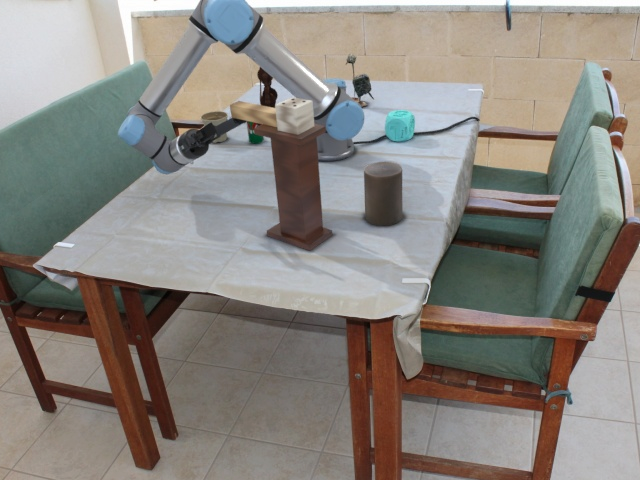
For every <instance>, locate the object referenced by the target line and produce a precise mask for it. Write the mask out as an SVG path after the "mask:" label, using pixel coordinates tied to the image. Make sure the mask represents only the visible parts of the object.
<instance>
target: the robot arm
mask: <svg viewBox="0 0 640 480" xmlns="http://www.w3.org/2000/svg"><path fill="white" fill-rule="evenodd" d="M187 23H188V27H187V28H186V29H185V31H184V33H183V34H182V35H181V37H179V40H178V41H177V43H176V44H175V46H174V47H173V49H172V51H171V52H170V53H169V54H168V56H167V57H166V59H165V61H164V62H163V64H162V65H161V66H160V67H159V70H158V71H157V72H156V74H155V75H154V77H153V78H152V80H151V81H150V82H149V84H148V86H147V87H146V88H145V90H144V91H143V93H142V94H141V96H140V98H139V99H138V101H137V102H136V103H135V105H133V106H131V107H130V108H129V110H128V111H127V114H126V118H125V119H124V121H122V123H121V125H120V127H119V129H118V131H117V136H118V137H119V139H121V140H122V141H123V142H125V144H126V145H128V146H131V147H132V148H134V149H135V150H136V151H138V152H140V153H142V154H143V155H145V157H148V158H149V159H150V160H152V161H151V162H152V165H153V167H154V168H155V170H156V171H157V172H158V173H160V174H163V175H171V174H174V173H176V172H178V171H180V170H181V169H182V168H183V167H185V166H187V165H189V164H190V165H194V163H195V162H194V161H196V160H197V159H199V158H201V157H203V156H205V155H206V154H207V152H208V151H209V148H210V144H212V143H213V141H214V140H216V139H218V138H220V137H221V135H223V134H225V133H227V134H228V132H230V131H232V130H234V129H236V128H238V127H240V126H241V125H243V124H247V121H246V120H241V119H237V118H232V117H231V118H228V119H227V121H225V122H223V123H221V124H219V125H217V126H216V125H213V124H212V122H211V123H209V124H207V125H206V126H204V125H203V127H201V128H200V129H198V128H189V129H188V130H186V131H185V132H183V133H182V134H180V135H178V136H177V137H175V138H173V139H170V138H169V137H168V136H166V135H165V134H163V133H162V132H161V131H159V130H158V129H157V128H156V125H157V124H158V122H159V121H160V119H161V118H162V116H163V114H164V113H165V112H166V110H167V109H168V107H169V106H170V105H171V103H172V102H173V100H174V99H175V97H176V96H177V94H178V93H179V92H180V90H181V89H182V87H183V86H184V84H185V83H186V82H187V80H188V79H189V77H190V76H191V74H192V73H193V71H195V69H196V67H197V66H198V64H199V63H200V61H201V60H202V58H203V57H204V55H205V54H206V52H207V51H208V50H209V49H210V47H211V46H212V44H217V43H218V42H220V43H222V44H224V45H225V46H226V47H227V48H228V49H230V50H231V51H232V52H233V53H234V54H235V55H239V54H240V55H241V54H245V56H247V57H248V59H250V60H252V61H253V62H254V63H255V64H256V65H257V66H259V68H260V67H261V68H262V69H263V70H265V71H266V72H267V73H268V74H269V75H270V76H272V77H273V79H274V80H275V81H276V82H277V83H278V84H279V85H281V87H283V88H284V89H286V91H288V92H289V93H290V94H291V95H292V96H294V98H300V99H305V100H311V101H313V113H314V124H318V125H322V126H326V132H325V133H324V134H322V135H320V136H318V137H317V149H318V162H319V161H320V162H334V161H341V160H344V159H347V158H349V157H351V156H352V155H353V154H354V153H355V145H364V144H366V145H367V144H373V143H377V142H378V141H381V140H383V139H385V138H388V137H387V136H386V134H384V135H381V136H379V137H377V138H374V139H371V140H360V141H353V138H354V137H356V136H357V135H358V134H359V133H360V132H361V130H362V129H363V127H364V124H365V112H364V110H363V108H362V107H361V106H360V105H359V104H358V103H357V102H355V101H354V100H353V99H352V98H351V96H350V95H349V94H348V93H347V85H346V80H344V79H343V78H325V79H323V78H322V77H321V76H319V74H318V73H316V72H315V71H314V70H313V69H312V68H311V67H309V66H308V64H306V63H305V62H304V61H303V60H302V59H301V58H300V57H299V56H297V55H296V54H295V53H294V52H293V51H292V50H291V49H289V47H287V46H286V45H285V44H284V43H283V42H282V41H281V40H280V39H278V38H277V37H276V36H275V35H274V34H273V33H272V32H271V31H270V30H269V29H268V28H266V26H265V19H264V17H263V16H262V15H261V14H260V13H259V12H258V11H257V10H255V9H254V8H253V7H252V6H251V4H249V3H248V2H247V1H246V0H199V2H198V3H197V5H196V6H195V9H194V10H193V11H192V13H191V15H190V16H189V18H188V19H187ZM470 120H475V121H478V122H479V121H481V120H480V118H479V117H477V116H469V117H467V118H465V119H462V120H461V121H458V122H455V123H453V124H451V125H449V126H447V127H444V128H441V129H436V130H429V131H428V130H427V131H419V132H418V131H417V132H414V134H413V136H421V135H430V134H437V133H443V132H446V131H448V130H451V129H452V128H454V127H456V126H459V125H462V124H464V123H466V122H468V121H470ZM215 135H217V137H215ZM214 137H215V138H214Z"/></svg>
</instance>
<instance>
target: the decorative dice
mask: <svg viewBox="0 0 640 480" xmlns="http://www.w3.org/2000/svg"><path fill="white" fill-rule="evenodd" d="M415 128H416V118H415V115H414V113H412V111H409V110H404V109H397V110H392V111H390V112H389V113H387V114H386V119H385V124H384V133H385V134H384V135H386V136H387V137H386V138H388V140H389V141H391V142H392V141H393V142H407V141H410V140H411V139H413V137H414V135H413V134H414V133H415Z"/></svg>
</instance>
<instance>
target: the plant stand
mask: <svg viewBox="0 0 640 480" xmlns="http://www.w3.org/2000/svg"><path fill="white" fill-rule="evenodd" d="M325 132H326V126H322V125H318V124H314V127H313V128H311V129H309V130H307V131H305V132H303V133H301V134H299V135H296V134H291V133H287V132H282V131H278V129H277V127H273V126H268V125H264V124H262V125H260V126H258V127H256V128H254V134H255V135H259V136H263V137H264V138H268V139H270V146H271V155H272V165H273V172H274V182H275V191H276V192H275V193H276V200H277V201H276V202H277V209H278V220H279V222H278V223H277V224H275V225H273V226H272V227H270V228H269V229H267V230H266V237H269V238H272V239H274V240H276V241H277V240H278V241H281V242H283V243H286V244H289V245H292V246H295V247H297V248H301V249H303V250H306V251H310V252H311V251H312V250H314V249H315V248H316V247H318V246H319V245H321V244H322V243H323V242H325V241H326V240H328V239H329V238H331V237H332V236H333V229H330V228H327V227H324V223H323V222H324V221H323V220H324V219H323V208H322V207H323V206H322V194H321V193H322V192H321V179H320V166H319V160H318V149H317V137H318V136H320V135H322V134H324V133H325Z"/></svg>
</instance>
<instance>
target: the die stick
mask: <svg viewBox="0 0 640 480" xmlns="http://www.w3.org/2000/svg"><path fill="white" fill-rule="evenodd" d="M229 109H230V117H231V118H237V119H241V120H246V121H250V122H255V123H259V124H264V125H268V126H273V127H277V129H278V131H282V132H287V133H291V134H296V135H299V134H301V133H303V132H305V131H307V130H309V129H311V128H313V127H314V113H313V101H311V100H305V99H300V98H296V97H295V96H294V97H292V96H291V97H289V98H287V99H285V100H282V101H280V102H278V103H276V104H275V108H272V107H267V106H262V105H261V104H257V103H251V102H247V101H243V100H242V101H241V100H237V101H235V102H233V103H231V104H229Z"/></svg>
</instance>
